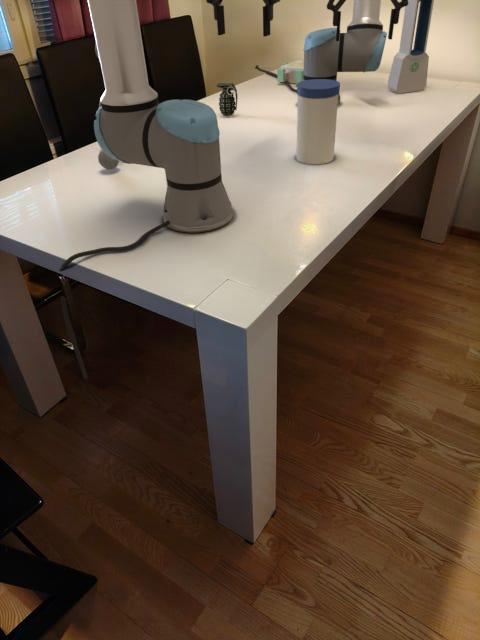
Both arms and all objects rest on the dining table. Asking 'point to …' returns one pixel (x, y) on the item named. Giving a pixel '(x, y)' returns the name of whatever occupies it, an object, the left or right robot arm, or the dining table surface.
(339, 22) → the right robot arm
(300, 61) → the decorative block
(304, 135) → the jar
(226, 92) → the grenade
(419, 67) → the electronic device
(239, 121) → the dining table surface
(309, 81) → the lid
